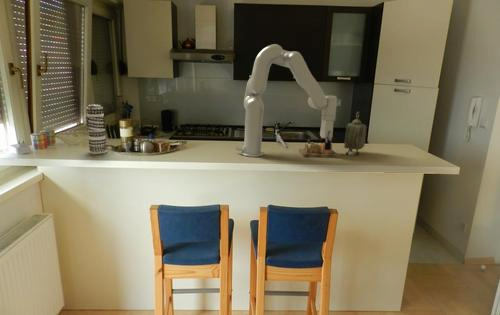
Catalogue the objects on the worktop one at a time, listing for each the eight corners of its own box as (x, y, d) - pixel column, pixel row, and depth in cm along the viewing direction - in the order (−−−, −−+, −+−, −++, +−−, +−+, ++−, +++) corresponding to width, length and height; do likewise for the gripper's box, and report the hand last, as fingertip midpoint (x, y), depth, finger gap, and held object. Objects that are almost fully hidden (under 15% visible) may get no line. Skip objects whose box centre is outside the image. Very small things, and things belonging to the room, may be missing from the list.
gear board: (303, 156, 182) (304, 142, 180) (298, 151, 195) (299, 137, 193) (338, 157, 183) (340, 142, 181) (331, 151, 196) (333, 138, 194)
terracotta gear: (320, 153, 185) (321, 145, 184) (317, 150, 192) (317, 142, 191) (333, 153, 186) (334, 145, 184) (329, 150, 193) (330, 143, 192)
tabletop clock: (348, 150, 201) (353, 109, 195) (363, 152, 197) (369, 111, 191) (343, 155, 189) (347, 111, 183) (359, 157, 185) (364, 113, 179)
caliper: (276, 142, 221) (276, 132, 219) (277, 142, 221) (278, 132, 220) (285, 148, 202) (286, 138, 200) (287, 148, 202) (287, 138, 200)
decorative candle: (89, 154, 170) (85, 105, 164) (87, 150, 178) (83, 104, 172) (108, 153, 175) (105, 105, 168) (106, 149, 182) (102, 103, 176)
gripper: (317, 115, 192) (315, 144, 197) (325, 119, 176) (322, 151, 180) (330, 116, 193) (327, 144, 197) (339, 120, 176) (336, 151, 180)
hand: (325, 147), depth 188 cm, fingers open, 9 cm apart
